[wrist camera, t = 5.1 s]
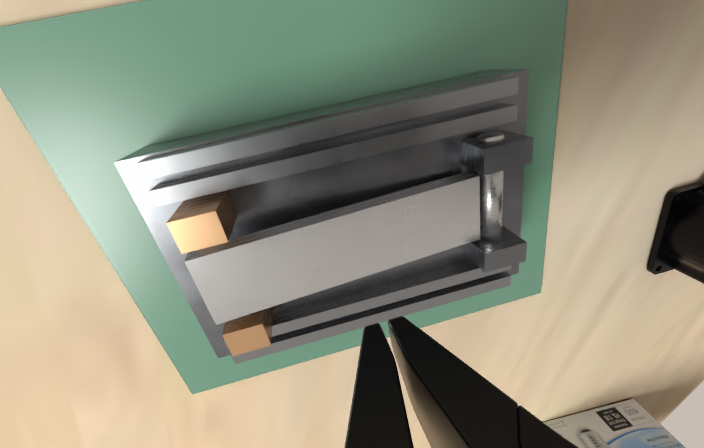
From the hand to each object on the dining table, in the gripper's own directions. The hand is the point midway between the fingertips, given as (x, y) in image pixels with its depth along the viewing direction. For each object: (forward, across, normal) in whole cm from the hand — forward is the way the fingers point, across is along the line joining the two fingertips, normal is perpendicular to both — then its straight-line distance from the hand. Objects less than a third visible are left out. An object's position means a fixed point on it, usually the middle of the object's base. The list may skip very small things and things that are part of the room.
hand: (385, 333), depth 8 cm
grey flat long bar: (+6, 0, 0) cm, 6 cm away
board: (+10, 0, 0) cm, 10 cm away
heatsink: (+10, 0, 0) cm, 10 cm away
